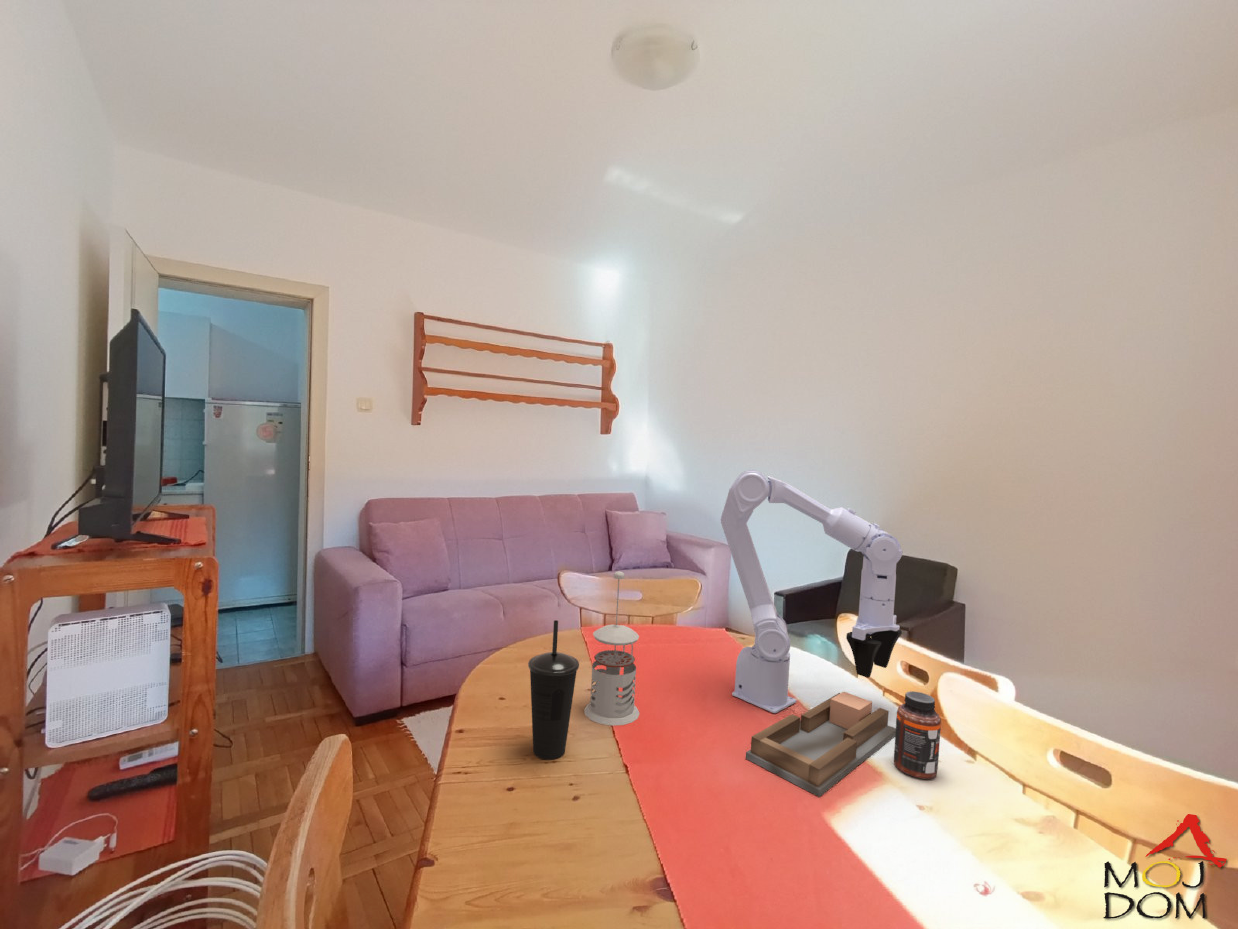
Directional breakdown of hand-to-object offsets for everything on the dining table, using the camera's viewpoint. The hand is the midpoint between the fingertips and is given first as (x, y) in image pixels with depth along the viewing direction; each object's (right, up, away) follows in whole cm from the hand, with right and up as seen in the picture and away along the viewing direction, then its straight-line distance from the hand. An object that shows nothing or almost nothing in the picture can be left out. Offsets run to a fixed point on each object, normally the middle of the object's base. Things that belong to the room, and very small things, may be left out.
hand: (872, 670), depth 102 cm
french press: (-47, -6, -2) cm, 48 cm away
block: (-6, -7, -5) cm, 11 cm away
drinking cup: (-57, -6, -17) cm, 60 cm away
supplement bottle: (-1, -9, -17) cm, 19 cm away
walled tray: (-13, -8, -11) cm, 19 cm away
